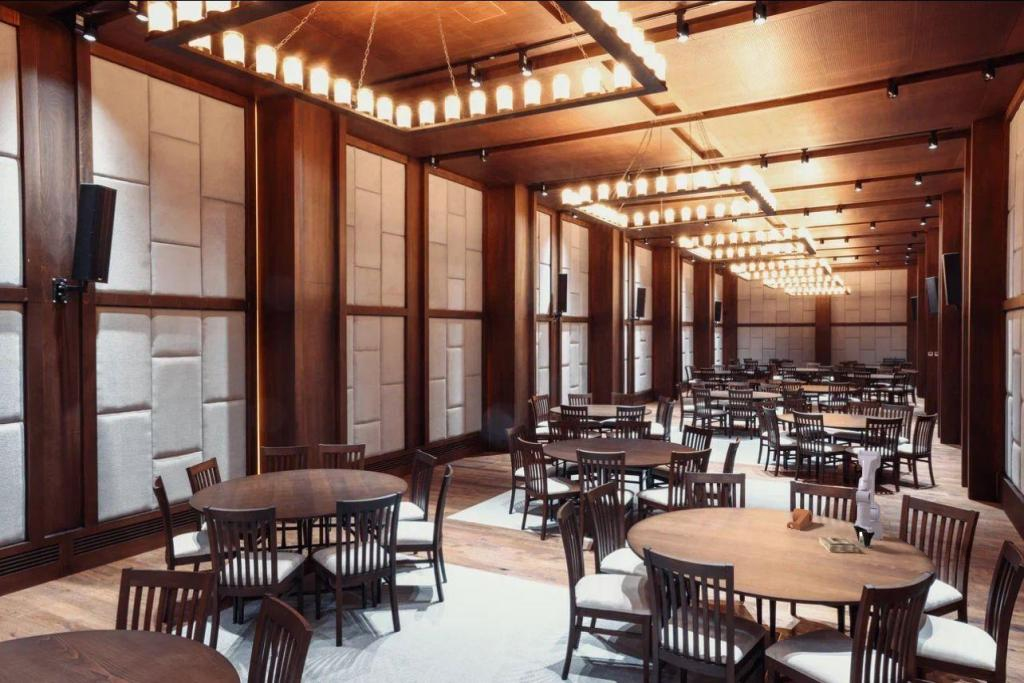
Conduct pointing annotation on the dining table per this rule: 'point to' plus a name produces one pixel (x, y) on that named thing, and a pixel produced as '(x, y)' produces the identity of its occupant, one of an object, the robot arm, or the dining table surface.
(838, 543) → the jig
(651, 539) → the dining table surface
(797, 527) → the brown blocky piece
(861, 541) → the bushing
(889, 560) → the dining table surface
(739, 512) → the dining table surface
